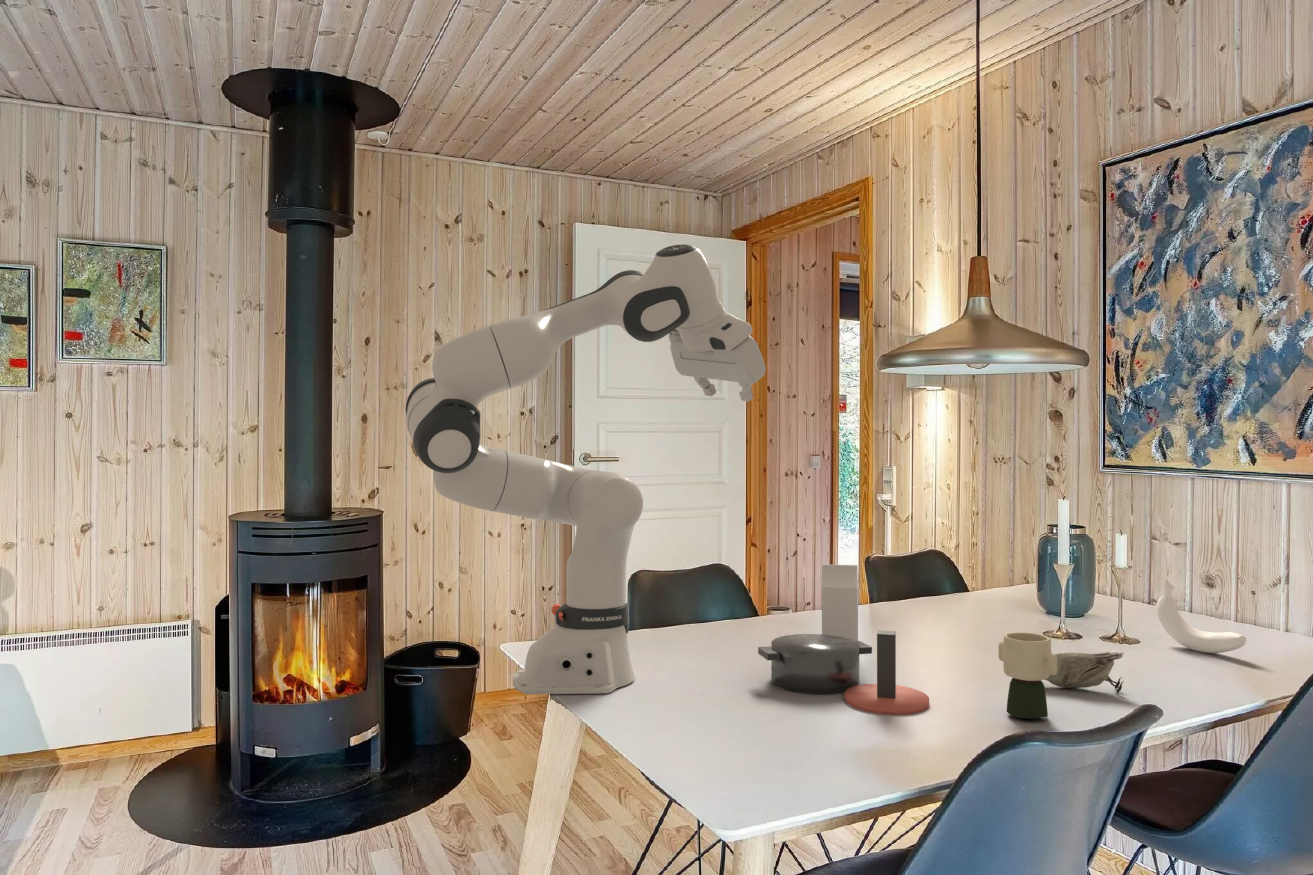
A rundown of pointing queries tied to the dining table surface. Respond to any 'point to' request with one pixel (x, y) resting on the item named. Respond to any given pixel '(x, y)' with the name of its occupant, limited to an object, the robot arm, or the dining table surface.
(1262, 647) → the dining table surface
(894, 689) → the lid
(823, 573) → the milk carton
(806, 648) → the pot
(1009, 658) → the character mug
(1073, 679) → the decorative bird
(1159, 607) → the banana
